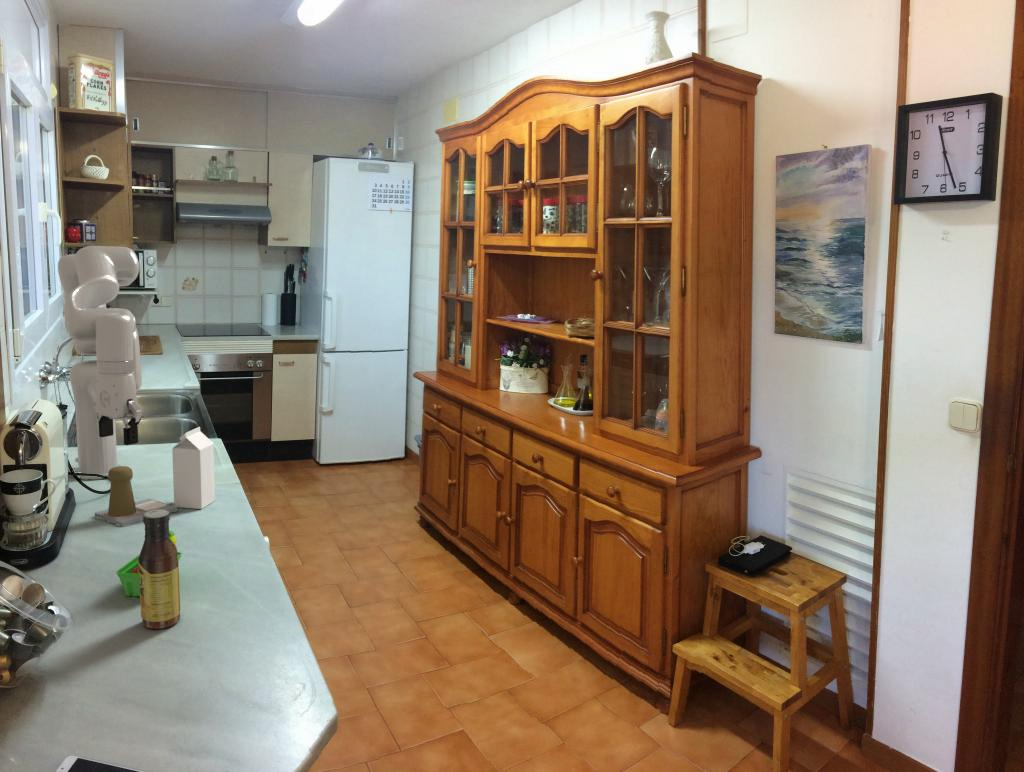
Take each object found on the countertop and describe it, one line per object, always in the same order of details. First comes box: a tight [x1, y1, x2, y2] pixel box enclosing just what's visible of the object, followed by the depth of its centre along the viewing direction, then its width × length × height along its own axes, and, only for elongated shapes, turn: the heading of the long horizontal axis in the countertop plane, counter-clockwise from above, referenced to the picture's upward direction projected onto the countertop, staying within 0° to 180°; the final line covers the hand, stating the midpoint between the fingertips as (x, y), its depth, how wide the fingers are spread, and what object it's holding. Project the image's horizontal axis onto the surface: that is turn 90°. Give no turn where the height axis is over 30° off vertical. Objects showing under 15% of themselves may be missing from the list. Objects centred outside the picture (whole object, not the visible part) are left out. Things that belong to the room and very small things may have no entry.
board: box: [94, 498, 178, 527], centre depth 191 cm, size 11×14×1 cm
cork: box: [107, 465, 136, 517], centre depth 187 cm, size 6×6×11 cm
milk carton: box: [171, 426, 216, 510], centre depth 198 cm, size 7×7×19 cm
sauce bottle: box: [138, 510, 182, 630], centre depth 136 cm, size 6×6×20 cm
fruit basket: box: [116, 529, 182, 597], centre depth 151 cm, size 11×9×11 cm
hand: (118, 440), depth 185 cm, fingers open, 9 cm apart
